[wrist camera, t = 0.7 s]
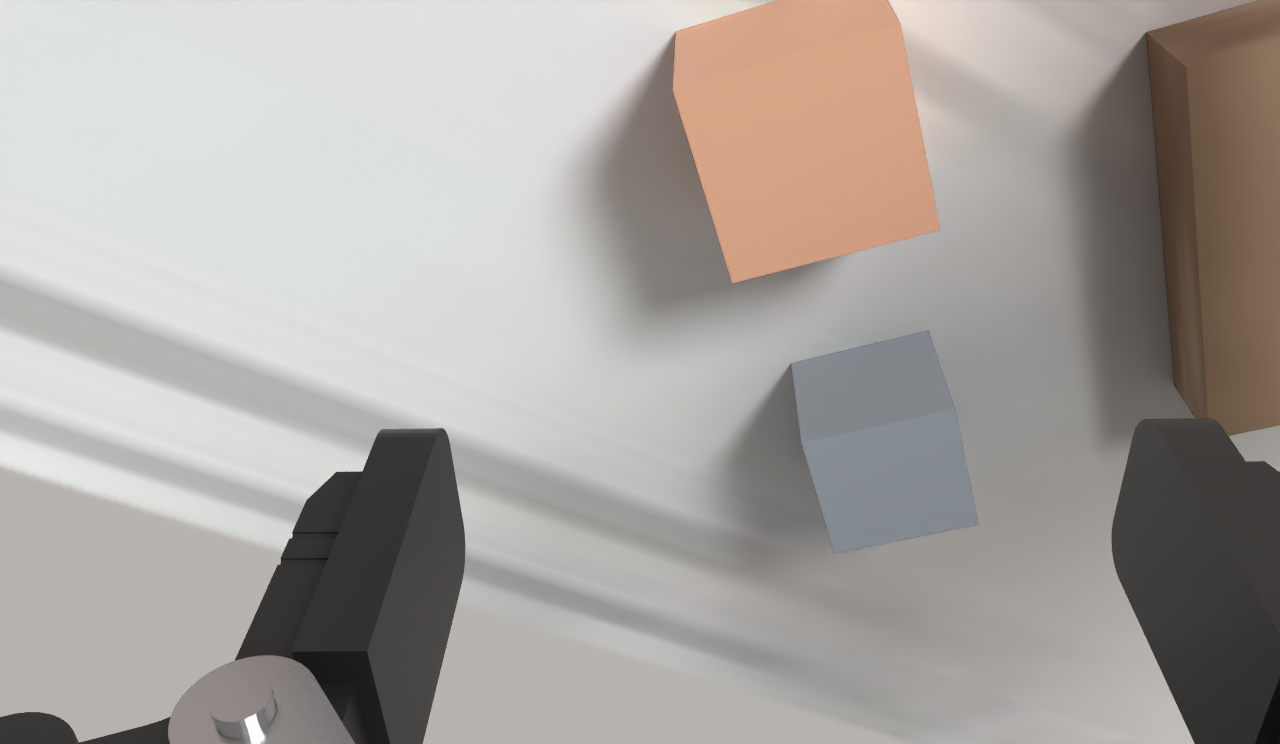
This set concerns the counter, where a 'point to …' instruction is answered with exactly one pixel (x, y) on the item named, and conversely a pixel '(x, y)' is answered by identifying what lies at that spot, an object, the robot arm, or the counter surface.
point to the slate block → (883, 443)
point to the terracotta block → (804, 132)
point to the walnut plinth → (1221, 209)
